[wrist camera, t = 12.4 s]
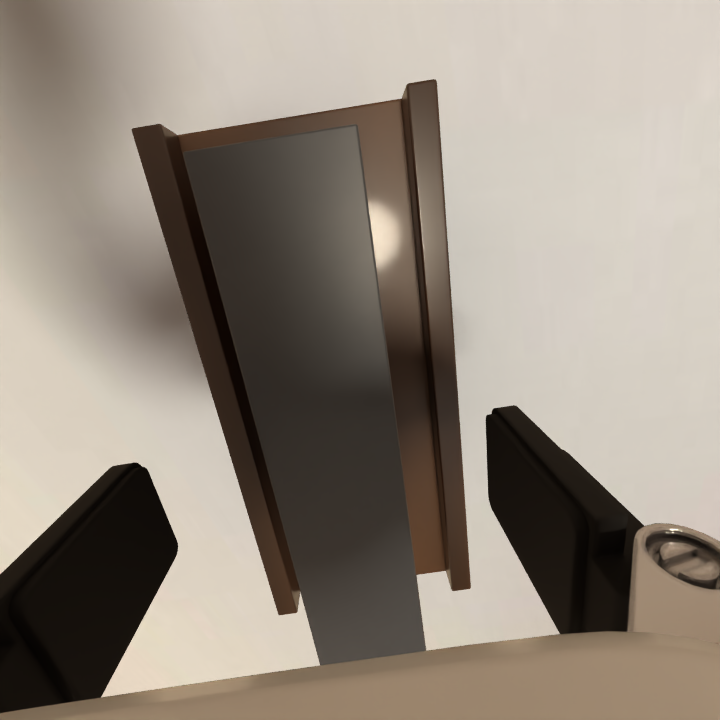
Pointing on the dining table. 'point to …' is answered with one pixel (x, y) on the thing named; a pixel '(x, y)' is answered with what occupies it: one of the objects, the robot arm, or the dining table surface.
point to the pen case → (317, 376)
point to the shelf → (399, 308)
